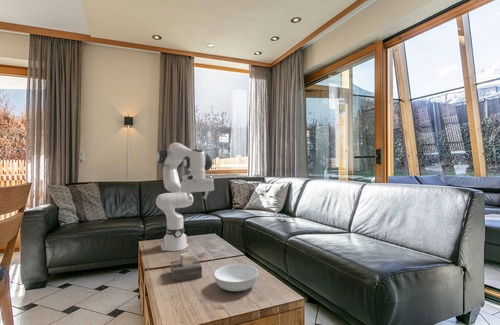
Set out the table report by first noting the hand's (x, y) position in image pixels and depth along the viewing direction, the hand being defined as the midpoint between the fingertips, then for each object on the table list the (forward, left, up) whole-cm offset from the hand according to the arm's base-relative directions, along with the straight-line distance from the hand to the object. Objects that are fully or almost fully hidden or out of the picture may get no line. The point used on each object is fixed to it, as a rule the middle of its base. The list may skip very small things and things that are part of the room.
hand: (197, 199), depth 160 cm
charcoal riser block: (+14, -13, -38) cm, 42 cm away
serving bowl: (+41, +2, -38) cm, 56 cm away
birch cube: (+14, -12, -32) cm, 37 cm away
